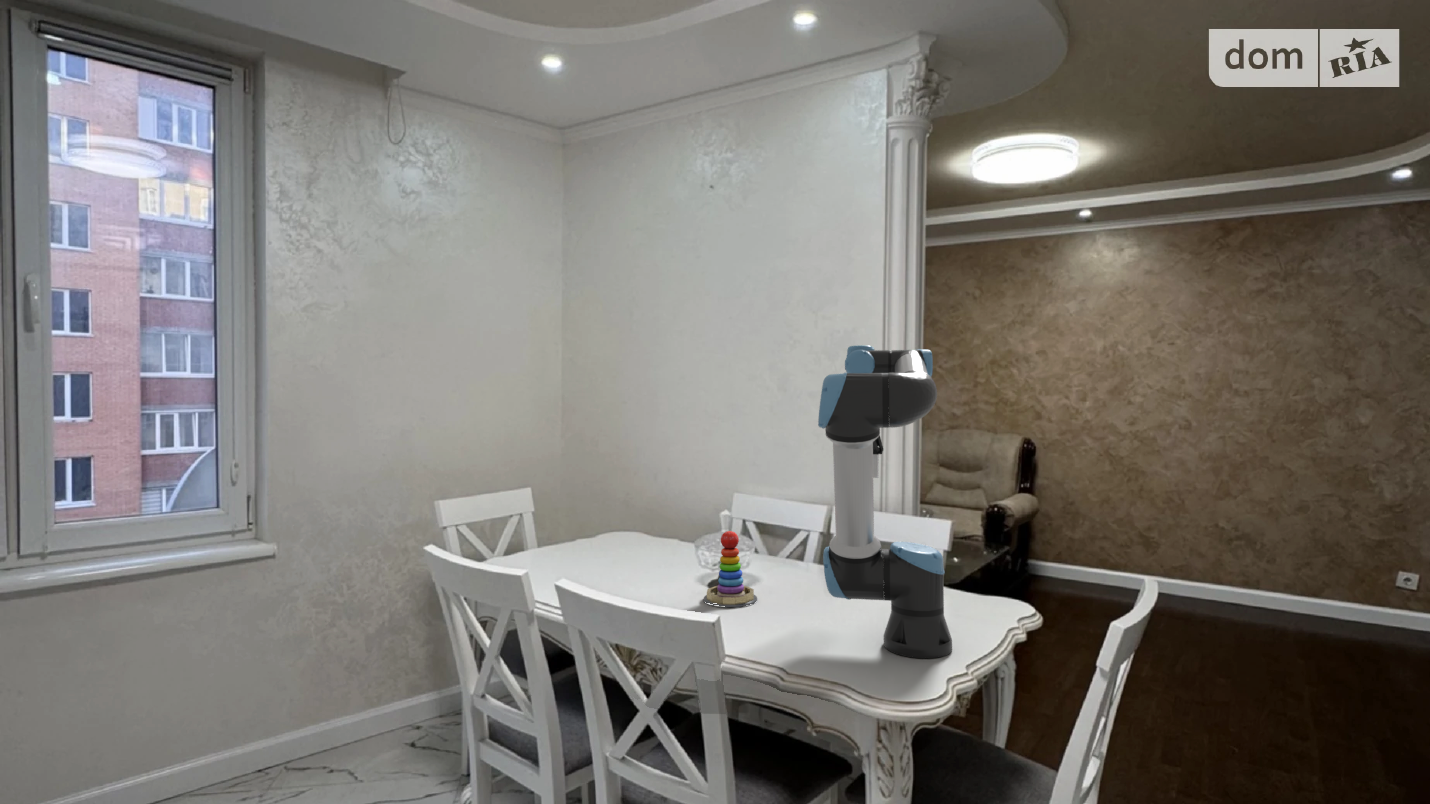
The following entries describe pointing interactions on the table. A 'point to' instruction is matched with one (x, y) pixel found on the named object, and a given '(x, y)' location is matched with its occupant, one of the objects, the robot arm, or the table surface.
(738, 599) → the collar plate
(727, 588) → the stacking toy
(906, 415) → the robot arm
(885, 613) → the table surface
